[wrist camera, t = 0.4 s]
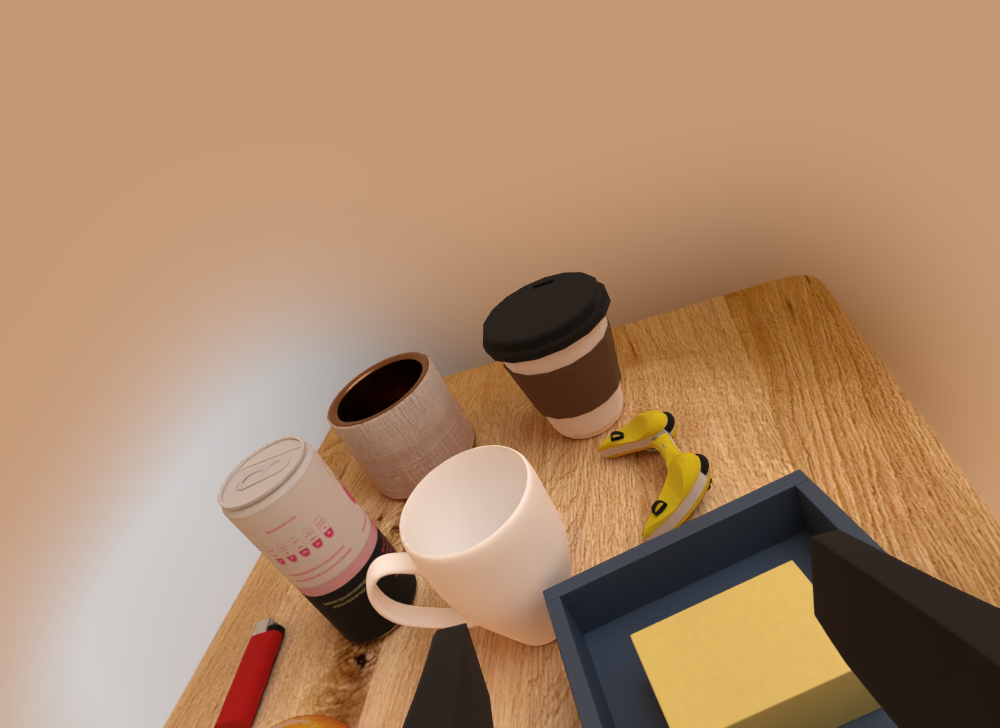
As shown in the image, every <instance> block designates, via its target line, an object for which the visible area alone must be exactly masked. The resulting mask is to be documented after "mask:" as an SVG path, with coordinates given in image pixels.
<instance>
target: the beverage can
mask: <svg viewBox="0 0 1000 728" xmlns="http://www.w3.org/2000/svg"><path fill="white" fill-rule="evenodd" d="M217 499H218V503H219V505H220V506H221V507H222V509H223V513H224V514H225V516H226V517H228V519H229V520H230V521H231V522H232V523H233V524H234V525H235V526H236V527H237V528H238V529H239V530H240V531H241V532H242V533H243V534H244V535H245V536H246V537H247V538H248V539H249V540H250V541H251V542H252V543H253V544H254V545H255V546H256V547H257V548H258V549H259V550H260V551H261V552H262V553H263V554H264V555H265V556H266V557H267V558H268V559H269V560H270V561H271V562H272V564H273V565H274V566H275V567H276V568H277V569H278V570H279V571H280V572H281V573H282V574H283V575H284V576H285V577H286V578H287V579H288V580H289V581H290V582H291V583H292V584H293V585H294V586H295V587H296V588H297V589H298V590H299V591H300V592H301V593H302V594H303V595H304V596H305V597H306V598H307V599H308V600H309V601H310V602H311V603H312V604H313V605H314V606H315V607H316V608H317V609H318V610H319V611H320V612H321V613H322V614H323V615H324V616H325V617H326V618H327V619H328V620H329V621H330V623H331V624H332V625H333V626H334V627H335V628H336V629H337V630H338V631H339V632H340V633H341V634H342V635H343V636H344V637H345V638H346V639H348V640H349V641H351V642H354V643H367V642H371V641H374V640H376V639H379V638H381V637H383V636H385V635H386V634H388V633H389V632H391V631H392V630H393V629H394V628H395V627H397V626H398V625H399V624H396V623H394V622H391V621H389V620H388V619H386V618H384V617H383V616H381V615H380V614H379V613H378V612H377V611H376V610H375V609H374V607H373V606H372V604H371V603H370V600H369V598H368V595H367V590H366V576H367V571H368V569H369V566H370V565H371V563H372V562H373V561H374V560H375V559H376V558H378V557H380V556H382V555H385V554H389V553H397V551H396V550H395V549H394V548H393V546H392V545H391V544H390V543H389V541H388V540H387V539H386V538H385V537H384V535H383V534H382V533H381V532H380V530H379V529H378V528H377V527H376V525H375V524H374V523H373V522H372V520H371V519H370V518H369V517H368V515H367V514H366V513H365V512H364V510H363V509H362V508H361V507H360V505H359V504H358V503H357V502H356V500H355V499H354V498H353V497H352V495H351V494H350V493H349V492H348V491H347V489H346V488H345V487H344V486H343V484H342V483H341V482H340V481H339V479H338V478H337V477H336V476H335V474H334V473H333V472H332V471H331V469H330V468H329V467H328V466H327V464H326V463H325V462H324V461H323V459H322V458H321V457H320V456H319V454H318V453H317V452H316V451H315V449H314V448H313V447H312V446H311V445H310V444H309V443H307V442H304V440H303V439H302V438H301V437H299V436H286V437H282V438H279V439H277V440H274V441H272V442H270V443H268V444H266V445H264V446H263V447H261V448H259V449H258V450H256V451H255V452H254V453H252V454H251V455H250V456H248V457H247V458H246V459H245V460H243V461H242V462H241V463H240V464H239V465H238V466H237V467H236V468H235V469H234V470H233V471H232V472H231V473H230V475H229V476H228V477H227V478H226V480H225V481H224V483H223V484H222V486H221V488H220V490H219V493H218V498H217ZM376 585H377V586H378V588H379V589H380V590H381V591H382V592H383V593H384V594H385V595H386V596H387V597H389V598H390V599H392V600H394V601H396V602H399V603H402V604H406V605H412V602H413V600H414V597H415V593H416V578H415V575H414V574H390V575H386V576H383V577H381V578H380V579H379V580H378V581H377V583H376Z"/></svg>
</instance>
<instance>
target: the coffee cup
mask: <svg viewBox="0 0 1000 728" xmlns="http://www.w3.org/2000/svg"><path fill="white" fill-rule="evenodd" d="M610 302H611V301H610V298H609V296H608V294H607V291H606V289H605V286H604V284H602V283H599V282H597V280H596V278H595V277H592V276H590V275H587V274H585V273H581V272H576V273H575V272H573V273H561V274H557V275H553V276H548V277H544V278H542V279H540V280H538V281H535V282H533V283H530V284H528V285H526V286H524V287H522V288H520V289H519V290H517V291H516V292H514V293H512V294H511V295H509V296H508V297H506V298H505V299H504V300H503V301H502V302H500V303H499V304H498V305H497V306H496V307H495V308H494V309H493V310H492V311H491V313H490V314H489V316H488V317H487V319H486V321H485V322H484V324H483V347H484V349H485V351H486V352H487V353H488V354H489V355H490V356H491V357H492V358H493V359H494V360H495V361H501V362H503V363H504V367H505V369H506V370H507V371H508V372H509V374H510V375H511V376H512V378H513V379H514V380H515V381H516V383H517V384H518V385H519V387H520V388H521V389H522V390H523V392H524V393H525V394H526V396H527V397H528V398H529V400H530V401H531V402H532V403H533V405H534V406H535V407H536V409H537V410H538V411H539V412H540V413H542V414H543V415H544V416H545V417H546V418H547V419H548V421H549V422H550V423H551V425H552V426H553V427H554V428H555V429H556V430H557V431H558V432H559V433H561V434H562V435H564V436H566V437H569V438H573V439H586V438H591V437H593V436H596V435H599V434H602V433H603V432H604V431H606V430H607V429H609V428H610V427H612V426H613V425H614V424H615V422H616V421H617V420H618V419H619V417H620V414H621V411H622V407H623V401H624V399H623V395H622V390H621V385H620V379H621V375H620V370H619V366H618V361H617V356H616V351H615V347H614V342H613V337H612V332H611V328H610V323H609V321H608V318H607V316H606V313H607V310H608V307H609V305H610Z"/></svg>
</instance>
